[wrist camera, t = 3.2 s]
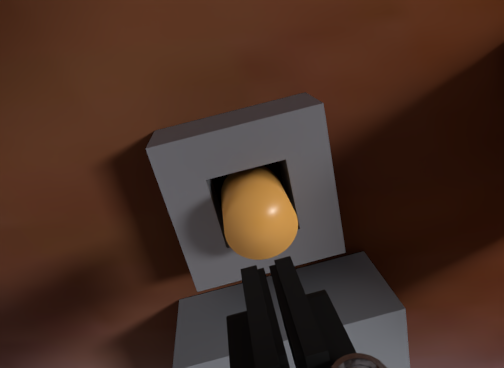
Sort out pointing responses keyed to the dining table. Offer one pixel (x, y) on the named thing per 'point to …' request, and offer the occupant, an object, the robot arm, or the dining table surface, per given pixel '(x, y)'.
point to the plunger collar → (242, 158)
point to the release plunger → (257, 214)
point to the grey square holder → (312, 279)
